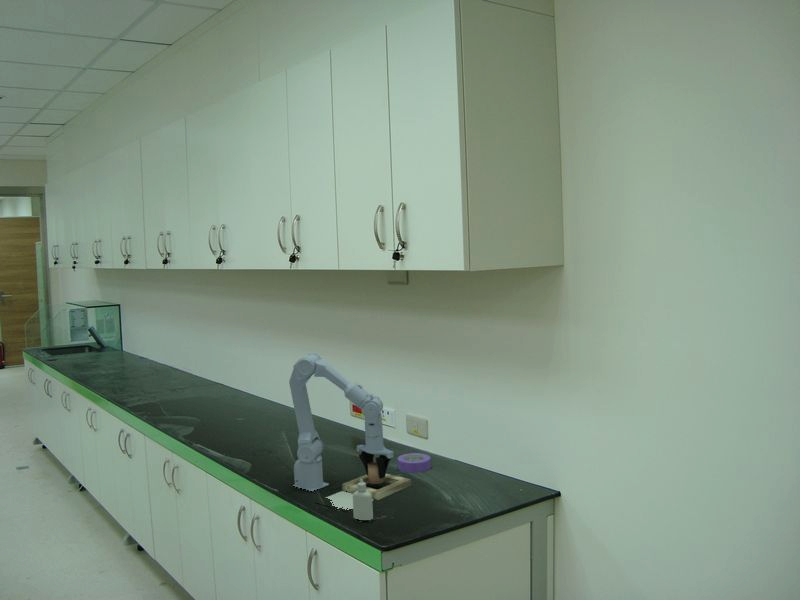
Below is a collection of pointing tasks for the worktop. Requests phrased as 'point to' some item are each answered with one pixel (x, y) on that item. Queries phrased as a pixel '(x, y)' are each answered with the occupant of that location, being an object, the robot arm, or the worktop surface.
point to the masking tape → (414, 462)
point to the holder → (394, 486)
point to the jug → (374, 473)
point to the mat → (342, 500)
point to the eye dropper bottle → (362, 503)
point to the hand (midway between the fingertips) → (376, 476)
